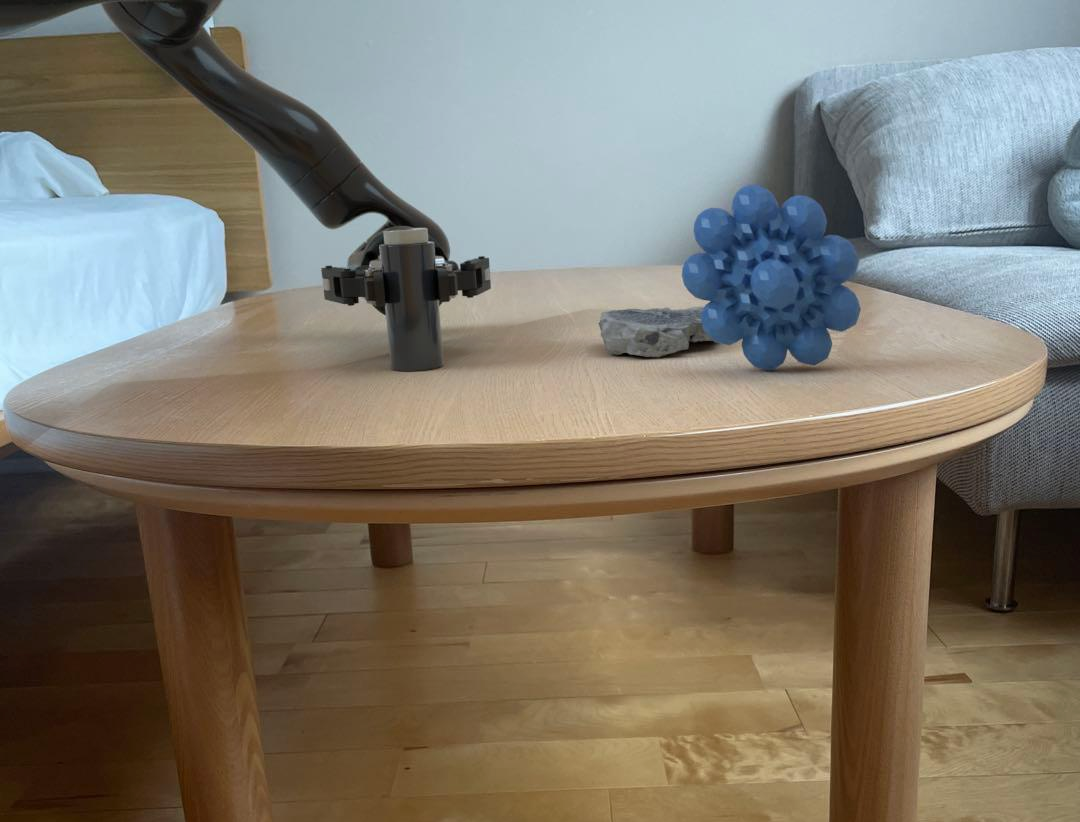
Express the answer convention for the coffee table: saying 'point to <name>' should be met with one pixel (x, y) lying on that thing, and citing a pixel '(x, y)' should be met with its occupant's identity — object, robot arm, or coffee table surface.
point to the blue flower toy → (772, 278)
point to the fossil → (651, 330)
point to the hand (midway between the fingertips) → (412, 289)
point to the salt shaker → (411, 300)
